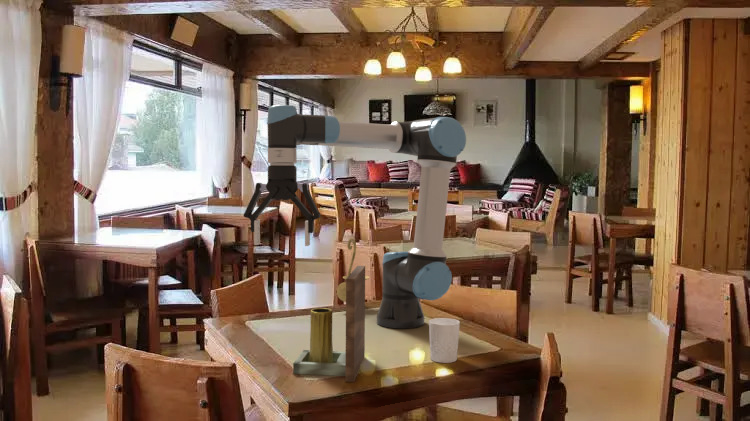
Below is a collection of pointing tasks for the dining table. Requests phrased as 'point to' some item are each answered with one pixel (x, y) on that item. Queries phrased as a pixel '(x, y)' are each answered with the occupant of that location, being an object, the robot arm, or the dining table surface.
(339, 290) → the wall sconce
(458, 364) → the dining table surface
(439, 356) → the white cup
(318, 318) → the vase
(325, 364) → the board
